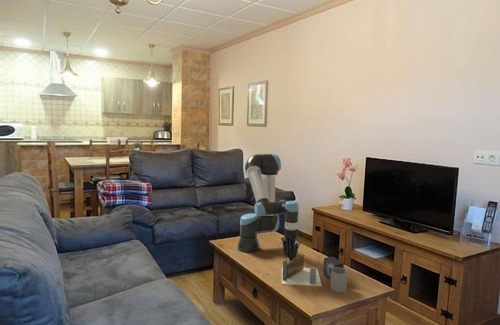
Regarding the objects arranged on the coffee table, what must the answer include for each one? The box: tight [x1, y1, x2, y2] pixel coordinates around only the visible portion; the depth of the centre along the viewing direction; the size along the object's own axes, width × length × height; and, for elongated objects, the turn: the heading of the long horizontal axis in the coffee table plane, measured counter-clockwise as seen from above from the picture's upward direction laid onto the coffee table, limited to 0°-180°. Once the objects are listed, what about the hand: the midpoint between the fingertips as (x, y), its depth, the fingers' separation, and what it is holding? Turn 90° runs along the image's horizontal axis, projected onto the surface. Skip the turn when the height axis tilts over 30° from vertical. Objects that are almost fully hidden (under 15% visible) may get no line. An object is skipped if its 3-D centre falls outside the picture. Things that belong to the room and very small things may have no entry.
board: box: [281, 266, 322, 287], centre depth 199 cm, size 21×21×1 cm
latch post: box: [309, 266, 317, 284], centre depth 189 cm, size 2×3×9 cm
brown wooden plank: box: [287, 253, 305, 278], centre depth 200 cm, size 2×16×9 cm, turn 140°
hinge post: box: [281, 260, 287, 281], centre depth 193 cm, size 2×2×11 cm
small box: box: [323, 256, 345, 281], centre depth 196 cm, size 11×6×10 cm, turn 23°
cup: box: [329, 267, 348, 293], centre depth 185 cm, size 8×8×10 cm
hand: (289, 267), depth 204 cm, fingers closed
